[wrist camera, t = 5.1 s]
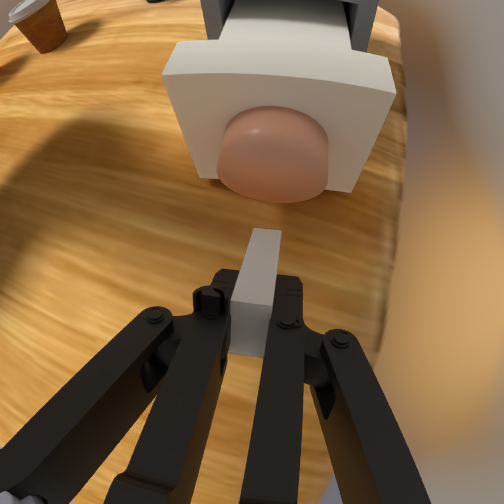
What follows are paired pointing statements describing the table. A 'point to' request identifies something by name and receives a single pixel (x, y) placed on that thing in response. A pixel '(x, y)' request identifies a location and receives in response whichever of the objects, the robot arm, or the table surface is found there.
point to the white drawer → (280, 100)
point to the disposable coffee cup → (39, 23)
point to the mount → (355, 3)
